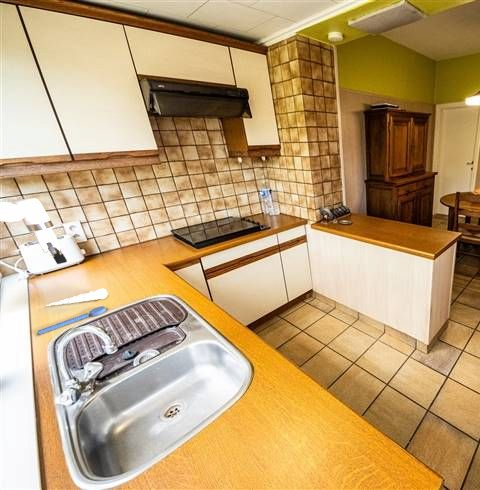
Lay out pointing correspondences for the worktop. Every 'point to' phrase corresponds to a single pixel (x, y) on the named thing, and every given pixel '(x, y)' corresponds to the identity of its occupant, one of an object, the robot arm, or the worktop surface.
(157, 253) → the worktop surface
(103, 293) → the unicorn horn
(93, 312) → the blue spoon
